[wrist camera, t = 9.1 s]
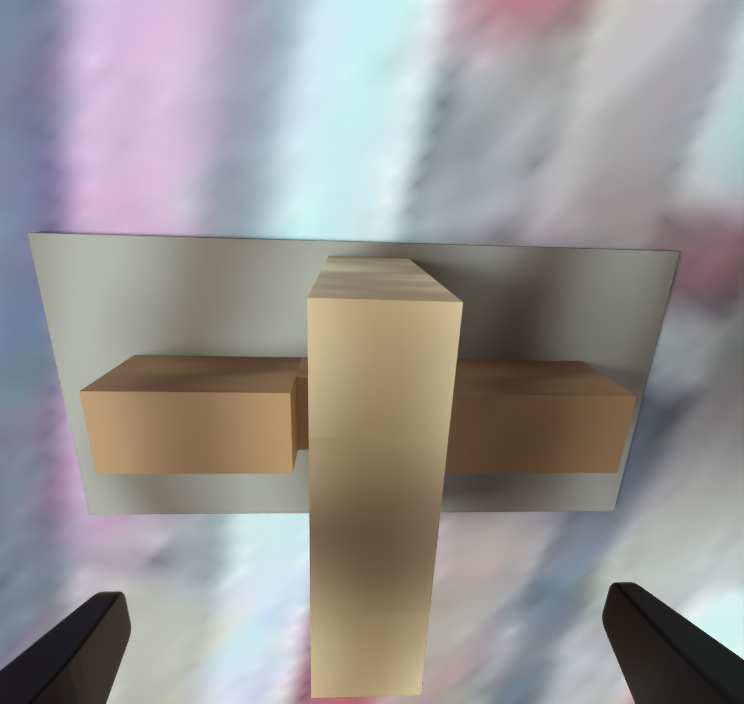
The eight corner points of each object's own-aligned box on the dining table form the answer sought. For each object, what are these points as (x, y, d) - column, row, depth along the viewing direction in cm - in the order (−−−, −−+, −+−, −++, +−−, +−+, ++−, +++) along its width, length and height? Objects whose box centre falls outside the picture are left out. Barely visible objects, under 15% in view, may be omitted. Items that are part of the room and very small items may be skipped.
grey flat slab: (672, 250, 17) (764, 261, 13) (609, 505, 20) (666, 570, 17) (35, 232, 15) (-66, 239, 12) (94, 508, 19) (32, 580, 15)
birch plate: (408, 258, 16) (462, 301, 8) (392, 504, 19) (420, 695, 12) (328, 256, 16) (307, 297, 8) (327, 504, 19) (311, 697, 11)
